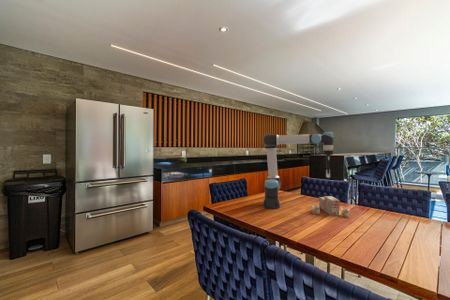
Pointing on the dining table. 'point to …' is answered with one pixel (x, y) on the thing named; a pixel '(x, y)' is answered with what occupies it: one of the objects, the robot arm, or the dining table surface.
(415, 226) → the dining table surface
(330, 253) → the dining table surface
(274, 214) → the dining table surface
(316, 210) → the marked cube left
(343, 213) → the marked cube right
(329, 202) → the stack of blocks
